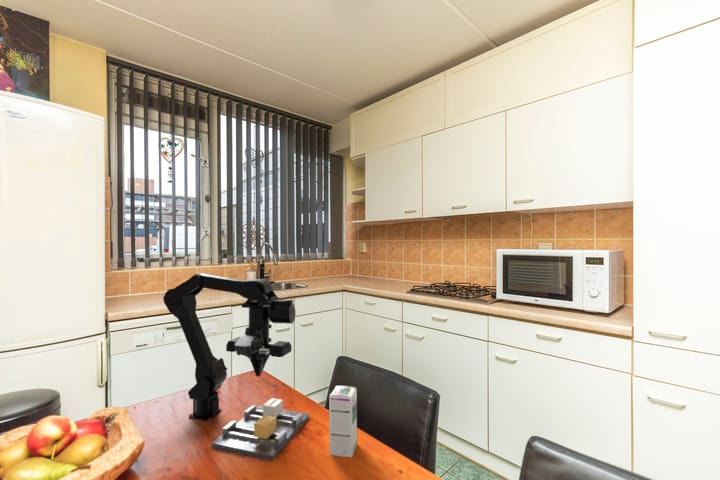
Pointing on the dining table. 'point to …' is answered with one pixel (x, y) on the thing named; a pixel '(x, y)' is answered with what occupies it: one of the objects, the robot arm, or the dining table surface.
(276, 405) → the fader ivory
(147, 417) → the dining table surface
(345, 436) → the syrup box
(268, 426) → the fader amber
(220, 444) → the console
